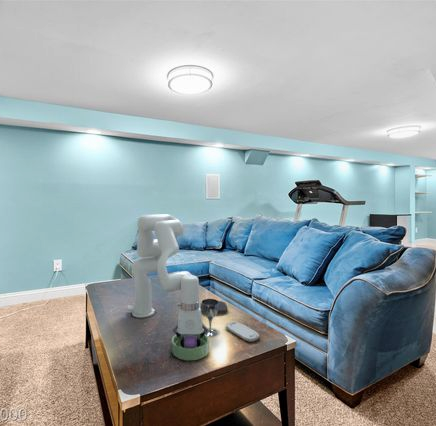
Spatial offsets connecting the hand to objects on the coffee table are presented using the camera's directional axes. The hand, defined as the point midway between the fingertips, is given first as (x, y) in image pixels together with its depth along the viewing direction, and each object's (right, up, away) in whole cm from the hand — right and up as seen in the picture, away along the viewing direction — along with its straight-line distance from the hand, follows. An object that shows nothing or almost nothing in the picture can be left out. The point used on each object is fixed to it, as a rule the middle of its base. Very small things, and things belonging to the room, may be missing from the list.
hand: (190, 347), depth 114 cm
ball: (0, -1, 0) cm, 1 cm away
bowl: (0, -2, 0) cm, 2 cm away
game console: (+24, -1, +14) cm, 28 cm away
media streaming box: (+13, 0, +43) cm, 45 cm away
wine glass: (+9, -1, +16) cm, 18 cm away
